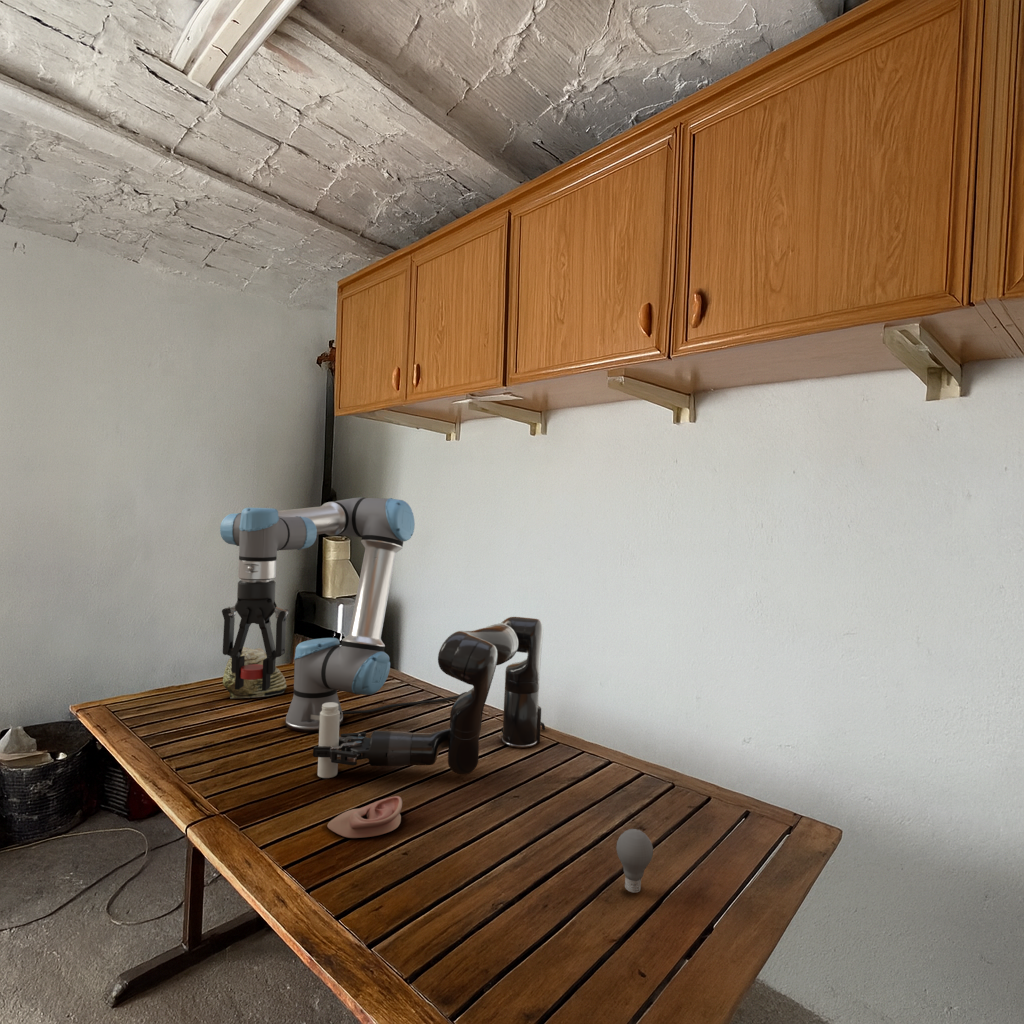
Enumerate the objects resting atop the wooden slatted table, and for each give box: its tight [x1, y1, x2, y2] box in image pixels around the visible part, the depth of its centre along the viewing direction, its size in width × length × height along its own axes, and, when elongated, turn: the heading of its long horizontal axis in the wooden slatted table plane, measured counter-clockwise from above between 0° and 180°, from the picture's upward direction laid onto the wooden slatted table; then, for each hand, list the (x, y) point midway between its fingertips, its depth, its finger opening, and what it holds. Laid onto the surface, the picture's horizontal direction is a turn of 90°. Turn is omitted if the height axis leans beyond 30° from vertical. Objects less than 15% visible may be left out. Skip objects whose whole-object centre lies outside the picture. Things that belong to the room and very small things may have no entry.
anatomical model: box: [327, 795, 403, 839], centre depth 123 cm, size 13×4×12 cm
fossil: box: [222, 646, 288, 699], centre depth 198 cm, size 9×18×15 cm, turn 132°
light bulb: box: [615, 828, 654, 894], centre depth 106 cm, size 6×6×10 cm
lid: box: [240, 664, 263, 680], centre depth 135 cm, size 5×5×2 cm
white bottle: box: [317, 702, 340, 779], centre depth 145 cm, size 4×4×16 cm
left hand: (252, 688), depth 136 cm, fingers closed on lid, 5 cm apart
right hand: (316, 747), depth 144 cm, fingers closed on white bottle, 4 cm apart
